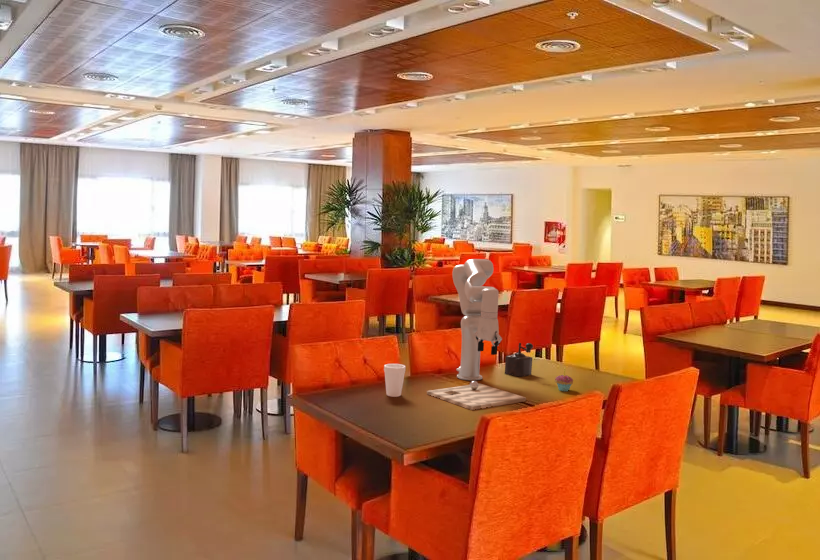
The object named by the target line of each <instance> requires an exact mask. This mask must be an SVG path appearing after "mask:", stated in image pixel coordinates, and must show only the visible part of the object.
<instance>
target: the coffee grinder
mask: <svg viewBox="0 0 820 560" xmlns="http://www.w3.org/2000/svg"><path fill="white" fill-rule="evenodd" d="M533 348H534V345H533V344H532V343H531V342H527V343H526V344H525V347H523V346H522V343H521V342H519V343H518V352H515V353H512V354H510V355H506V356H505V361H504V362H505V363H504V374H505V375H508V374H509V376H515V377H520V378H523V377H528V376H531V375H532V372H533V371H532V370H533V357H532V356H529V355H525V354H524V353H522V352H521V351H522V350H524V351H525V352H526V353H527V354H528V353H531V351H532V349H533ZM521 349H522V350H521Z"/></svg>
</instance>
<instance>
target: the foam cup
mask: <svg viewBox="0 0 820 560" xmlns="http://www.w3.org/2000/svg"><path fill="white" fill-rule="evenodd" d="M406 369H407V368H406V365H405V364H401V363H387V364H384V365H383V371H384V381H385V392H386V393H385V394H386V396H388V397H393V398H395V397H396V398H397V397H401V395H402V390H403V386H404V378H405V373H406Z"/></svg>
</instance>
